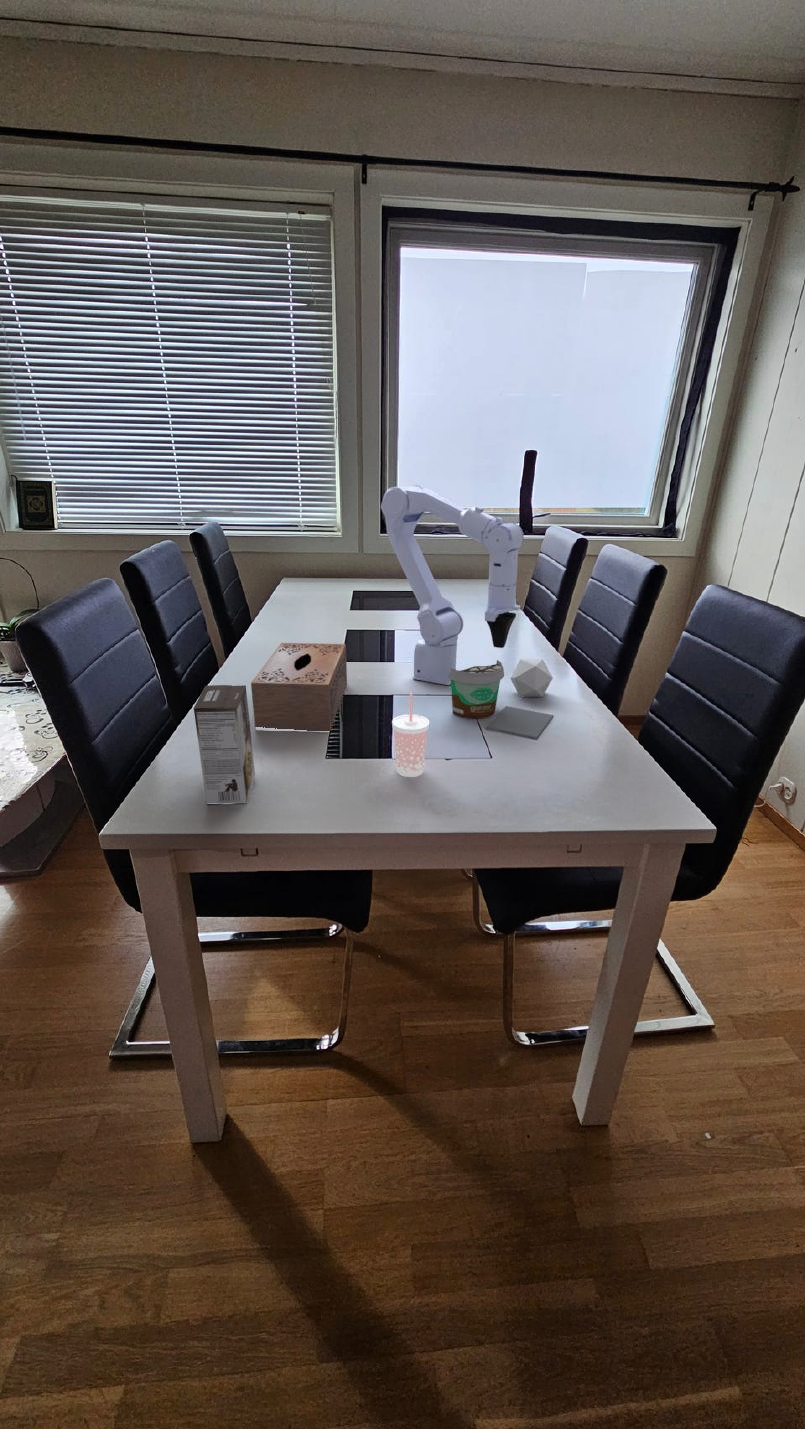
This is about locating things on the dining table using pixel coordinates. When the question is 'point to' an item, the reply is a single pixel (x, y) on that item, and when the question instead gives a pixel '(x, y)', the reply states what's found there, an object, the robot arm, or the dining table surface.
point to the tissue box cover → (300, 687)
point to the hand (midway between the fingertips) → (499, 646)
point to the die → (531, 678)
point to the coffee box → (225, 743)
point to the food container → (475, 690)
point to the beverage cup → (410, 742)
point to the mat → (520, 722)
